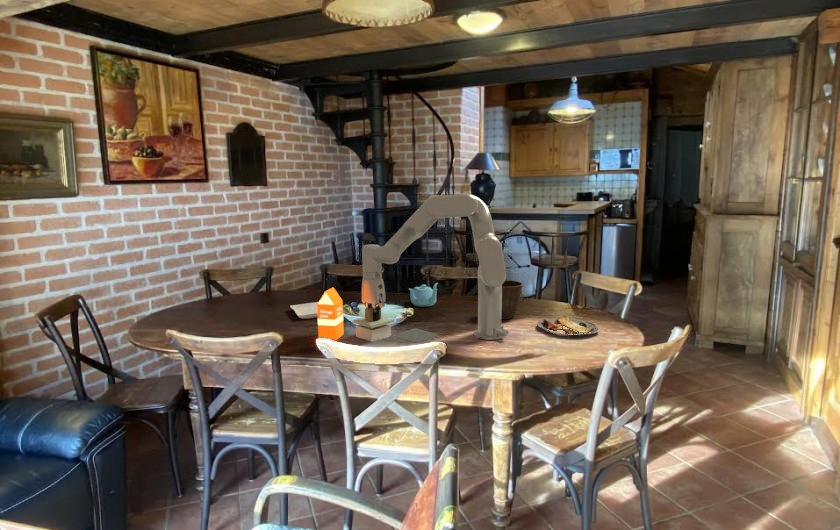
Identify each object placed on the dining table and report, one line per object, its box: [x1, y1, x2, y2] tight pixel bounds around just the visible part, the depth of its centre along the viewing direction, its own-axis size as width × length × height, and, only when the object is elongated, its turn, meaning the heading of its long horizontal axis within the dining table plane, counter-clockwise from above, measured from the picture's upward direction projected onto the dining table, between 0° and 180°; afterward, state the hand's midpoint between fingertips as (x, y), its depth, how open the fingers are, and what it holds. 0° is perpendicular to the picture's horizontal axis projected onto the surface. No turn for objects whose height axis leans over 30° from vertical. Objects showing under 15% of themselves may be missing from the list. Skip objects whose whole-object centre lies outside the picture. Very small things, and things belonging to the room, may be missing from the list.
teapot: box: [407, 282, 439, 308], centre depth 267 cm, size 15×15×10 cm
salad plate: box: [290, 301, 319, 320], centre depth 251 cm, size 21×21×3 cm
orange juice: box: [317, 287, 345, 341], centre depth 213 cm, size 8×9×20 cm
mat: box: [391, 327, 439, 343], centre depth 214 cm, size 14×14×1 cm
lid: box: [351, 305, 395, 328], centre depth 211 cm, size 12×12×6 cm
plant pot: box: [501, 279, 523, 320], centre depth 240 cm, size 15×15×16 cm
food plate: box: [536, 315, 600, 337], centre depth 221 cm, size 25×23×4 cm
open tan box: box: [355, 324, 392, 343], centre depth 212 cm, size 10×10×5 cm
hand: (373, 319), depth 211 cm, fingers closed on lid, 3 cm apart
